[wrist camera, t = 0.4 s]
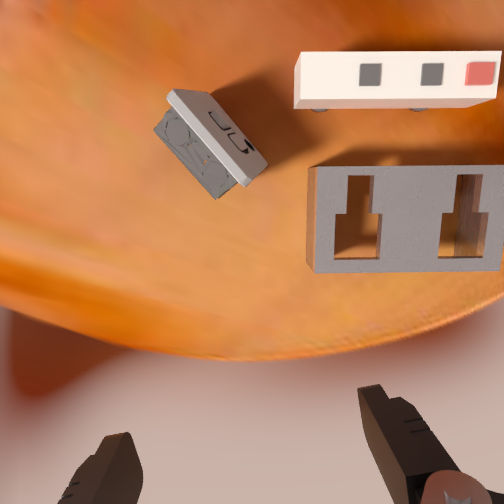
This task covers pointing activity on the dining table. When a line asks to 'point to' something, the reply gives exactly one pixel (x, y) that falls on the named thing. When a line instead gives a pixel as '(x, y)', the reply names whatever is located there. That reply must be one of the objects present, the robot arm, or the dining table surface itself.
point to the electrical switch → (208, 142)
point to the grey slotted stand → (410, 218)
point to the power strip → (395, 79)
